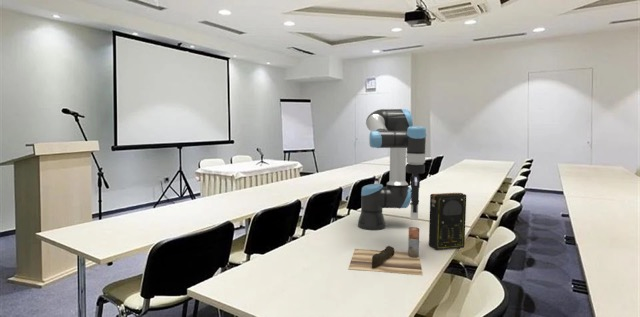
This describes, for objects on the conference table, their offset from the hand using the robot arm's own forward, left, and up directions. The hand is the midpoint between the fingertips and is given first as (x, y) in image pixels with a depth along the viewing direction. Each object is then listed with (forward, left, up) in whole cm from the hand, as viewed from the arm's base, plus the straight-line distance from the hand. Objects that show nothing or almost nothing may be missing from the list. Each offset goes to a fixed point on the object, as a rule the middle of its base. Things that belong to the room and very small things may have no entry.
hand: (414, 218), depth 155 cm
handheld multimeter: (-16, +16, -17) cm, 28 cm away
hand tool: (+10, -12, -17) cm, 23 cm away
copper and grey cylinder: (0, 0, -16) cm, 16 cm away
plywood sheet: (+8, -11, -17) cm, 22 cm away
